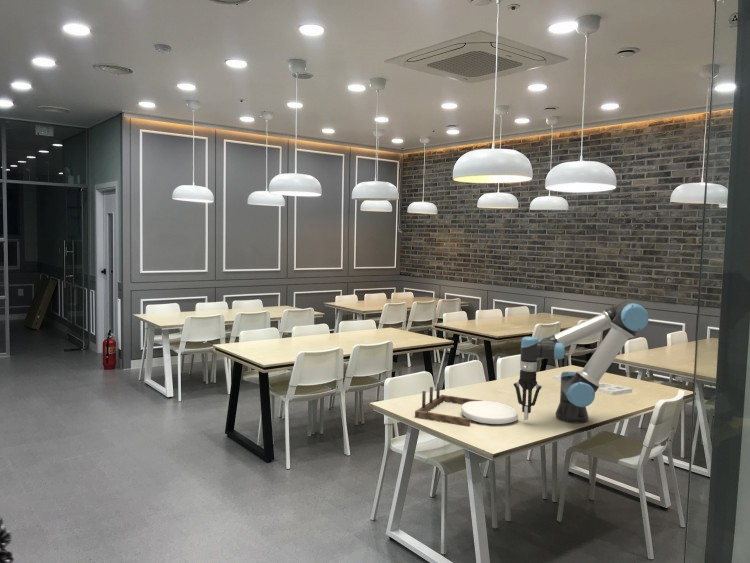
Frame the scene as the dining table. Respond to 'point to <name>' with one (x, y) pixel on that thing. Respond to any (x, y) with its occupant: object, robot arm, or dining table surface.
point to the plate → (489, 412)
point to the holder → (607, 387)
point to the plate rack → (439, 399)
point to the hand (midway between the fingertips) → (526, 419)
